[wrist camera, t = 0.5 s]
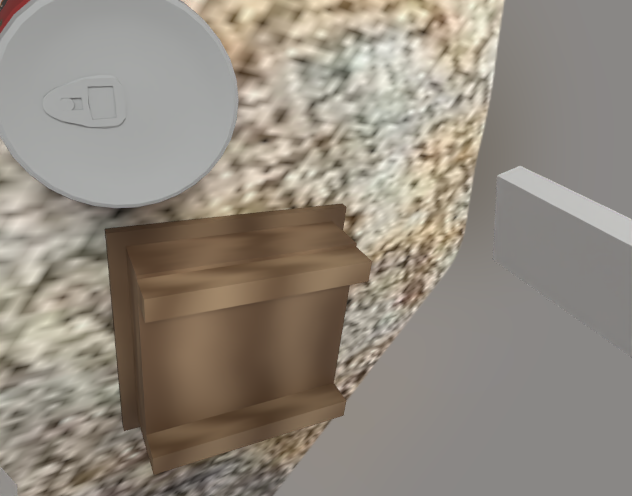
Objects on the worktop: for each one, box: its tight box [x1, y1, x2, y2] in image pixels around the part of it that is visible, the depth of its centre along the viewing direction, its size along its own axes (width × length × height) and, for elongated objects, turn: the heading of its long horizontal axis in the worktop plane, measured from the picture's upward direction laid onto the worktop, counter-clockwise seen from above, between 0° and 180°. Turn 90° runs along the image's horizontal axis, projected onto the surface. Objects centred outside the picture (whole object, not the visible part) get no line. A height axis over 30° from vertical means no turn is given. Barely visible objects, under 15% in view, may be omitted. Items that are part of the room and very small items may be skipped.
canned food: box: [0, 0, 238, 208], centre depth 22 cm, size 8×8×11 cm
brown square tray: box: [105, 204, 372, 475], centre depth 36 cm, size 16×16×6 cm
